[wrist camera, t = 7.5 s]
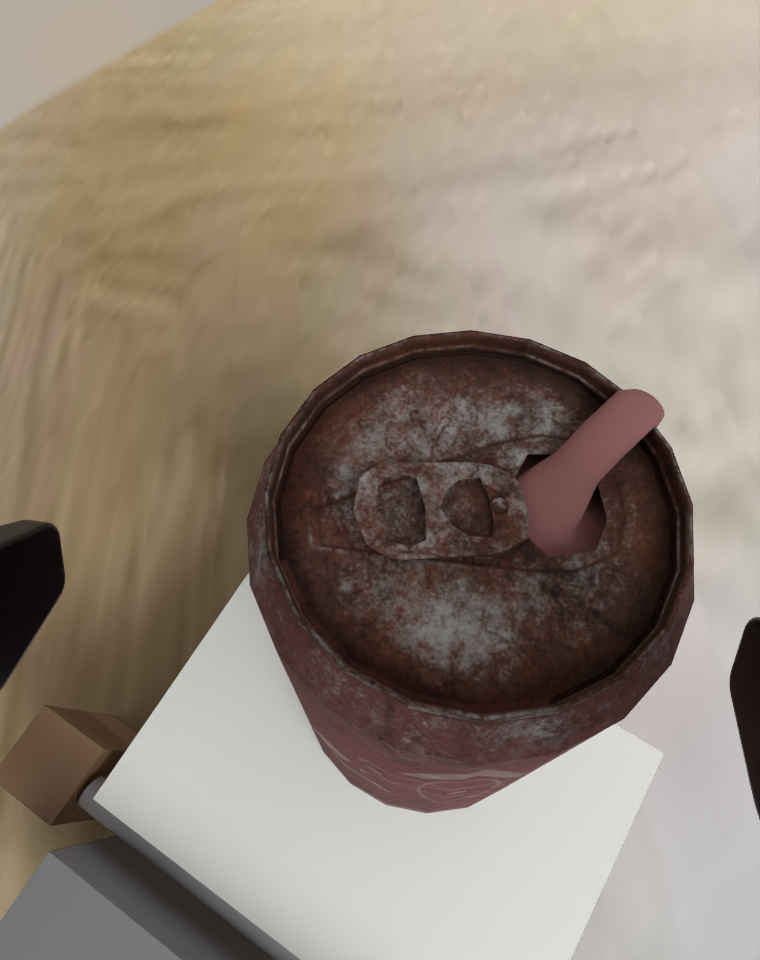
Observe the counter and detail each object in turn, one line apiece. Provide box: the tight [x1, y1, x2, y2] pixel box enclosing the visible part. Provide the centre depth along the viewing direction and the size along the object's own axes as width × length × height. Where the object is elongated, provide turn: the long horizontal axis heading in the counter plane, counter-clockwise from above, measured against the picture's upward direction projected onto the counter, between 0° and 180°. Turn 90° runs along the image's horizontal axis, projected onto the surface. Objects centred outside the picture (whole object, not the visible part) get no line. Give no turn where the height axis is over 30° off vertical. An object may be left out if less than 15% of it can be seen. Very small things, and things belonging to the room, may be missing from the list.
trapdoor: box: [0, 573, 664, 960], centre depth 17 cm, size 12×12×4 cm
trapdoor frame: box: [0, 705, 138, 826], centre depth 18 cm, size 2×16×4 cm, turn 58°
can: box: [247, 330, 694, 813], centre depth 15 cm, size 6×6×14 cm
